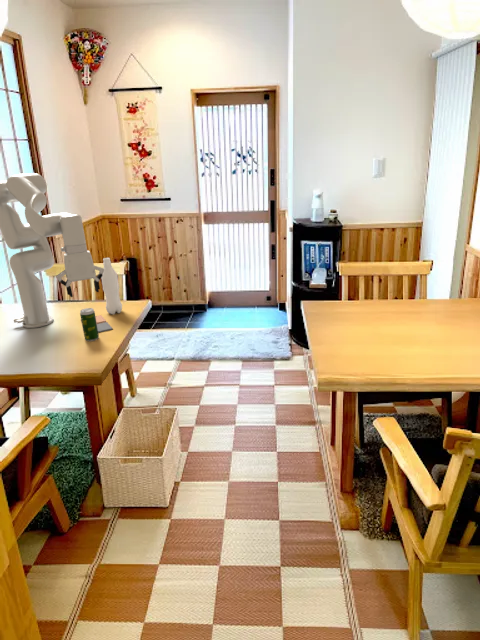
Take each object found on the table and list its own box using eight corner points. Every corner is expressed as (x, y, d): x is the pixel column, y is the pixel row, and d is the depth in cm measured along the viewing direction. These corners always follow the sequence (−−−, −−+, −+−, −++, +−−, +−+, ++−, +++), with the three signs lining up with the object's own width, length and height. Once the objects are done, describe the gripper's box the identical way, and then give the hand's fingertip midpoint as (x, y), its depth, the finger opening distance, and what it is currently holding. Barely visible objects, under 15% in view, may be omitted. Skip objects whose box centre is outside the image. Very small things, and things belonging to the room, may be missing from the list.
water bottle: (125, 309, 214) (117, 256, 205) (119, 314, 207) (111, 260, 199) (110, 310, 215) (101, 257, 206) (104, 315, 208) (95, 260, 200)
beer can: (94, 335, 185) (89, 307, 181) (101, 338, 182) (96, 309, 178) (82, 339, 182) (76, 310, 177) (89, 342, 178) (84, 313, 174)
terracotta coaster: (84, 326, 196) (84, 325, 195) (80, 320, 203) (80, 319, 203) (106, 321, 200) (106, 320, 199) (101, 316, 207) (101, 315, 207)
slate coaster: (90, 334, 187) (90, 333, 186) (85, 327, 194) (85, 326, 194) (112, 329, 190) (112, 328, 190) (107, 323, 198) (107, 321, 198)
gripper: (52, 254, 163) (62, 300, 168) (102, 247, 170) (109, 291, 176) (49, 251, 169) (58, 296, 175) (97, 244, 176) (104, 287, 182)
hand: (84, 293), depth 175 cm, fingers open, 9 cm apart
